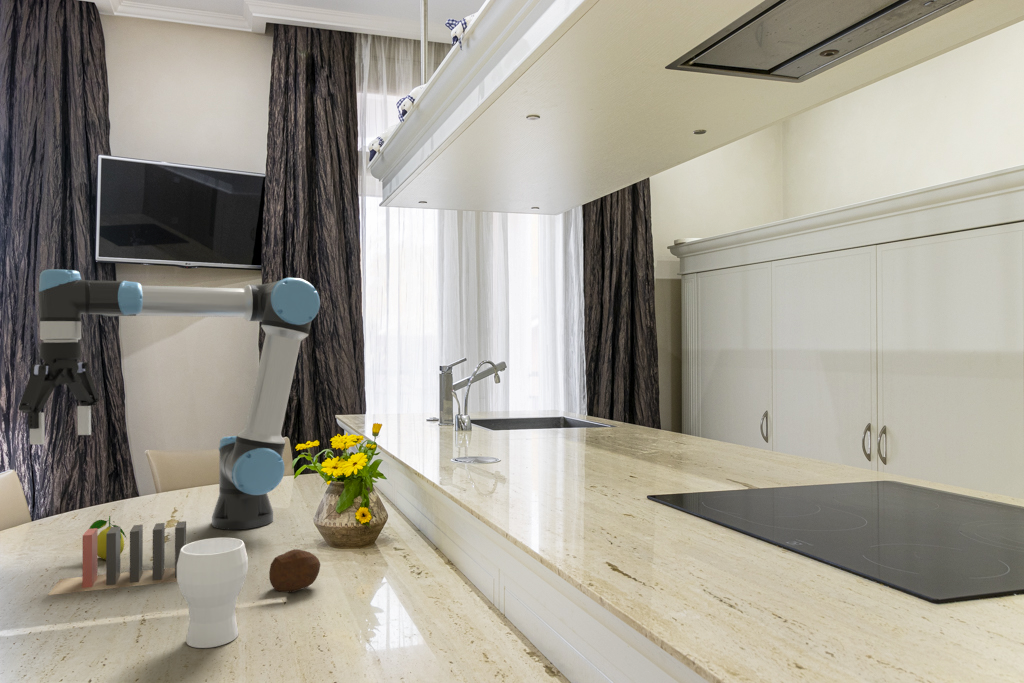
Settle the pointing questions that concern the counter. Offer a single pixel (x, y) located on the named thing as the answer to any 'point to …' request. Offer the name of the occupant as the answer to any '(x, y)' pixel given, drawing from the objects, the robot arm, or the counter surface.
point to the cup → (212, 588)
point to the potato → (293, 570)
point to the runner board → (123, 581)
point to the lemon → (102, 537)
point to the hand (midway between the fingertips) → (61, 439)
